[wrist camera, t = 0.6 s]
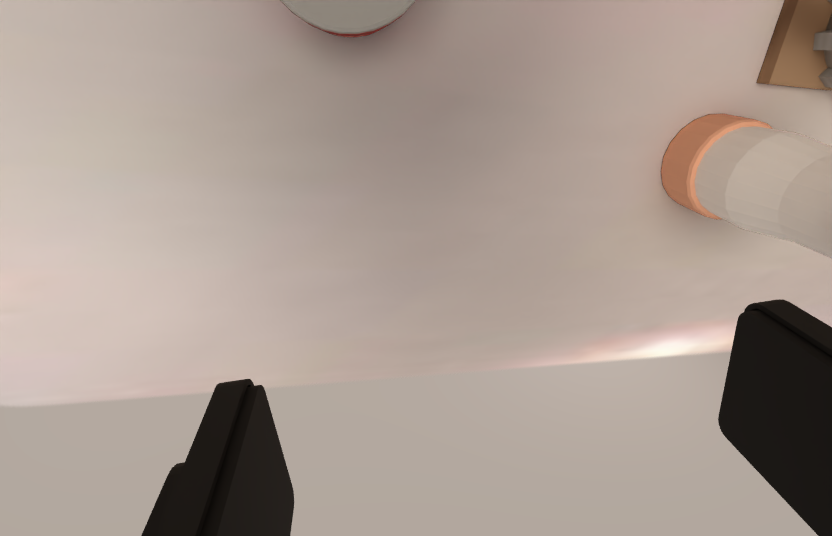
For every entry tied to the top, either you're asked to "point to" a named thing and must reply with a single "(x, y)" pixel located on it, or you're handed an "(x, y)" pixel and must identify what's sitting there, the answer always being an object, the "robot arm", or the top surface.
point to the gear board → (801, 46)
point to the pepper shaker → (753, 178)
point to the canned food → (349, 14)
